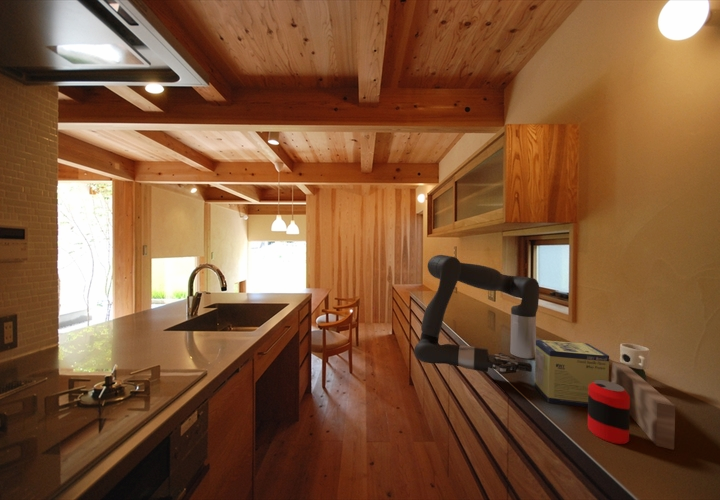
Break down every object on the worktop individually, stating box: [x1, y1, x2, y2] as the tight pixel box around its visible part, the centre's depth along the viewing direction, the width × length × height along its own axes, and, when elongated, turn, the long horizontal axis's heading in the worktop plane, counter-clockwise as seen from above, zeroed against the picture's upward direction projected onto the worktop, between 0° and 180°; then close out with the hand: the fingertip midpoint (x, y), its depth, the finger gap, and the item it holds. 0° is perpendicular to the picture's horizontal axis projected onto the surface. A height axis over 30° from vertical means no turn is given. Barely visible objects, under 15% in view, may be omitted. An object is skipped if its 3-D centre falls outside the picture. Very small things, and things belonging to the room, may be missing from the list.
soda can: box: [587, 380, 631, 445], centre depth 68 cm, size 8×8×12 cm
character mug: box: [619, 342, 651, 383], centre depth 93 cm, size 11×7×13 cm, turn 159°
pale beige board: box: [610, 361, 676, 450], centre depth 76 cm, size 26×3×10 cm, turn 155°
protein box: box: [534, 339, 610, 408], centre depth 85 cm, size 10×16×16 cm
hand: (531, 367), depth 89 cm, fingers closed
